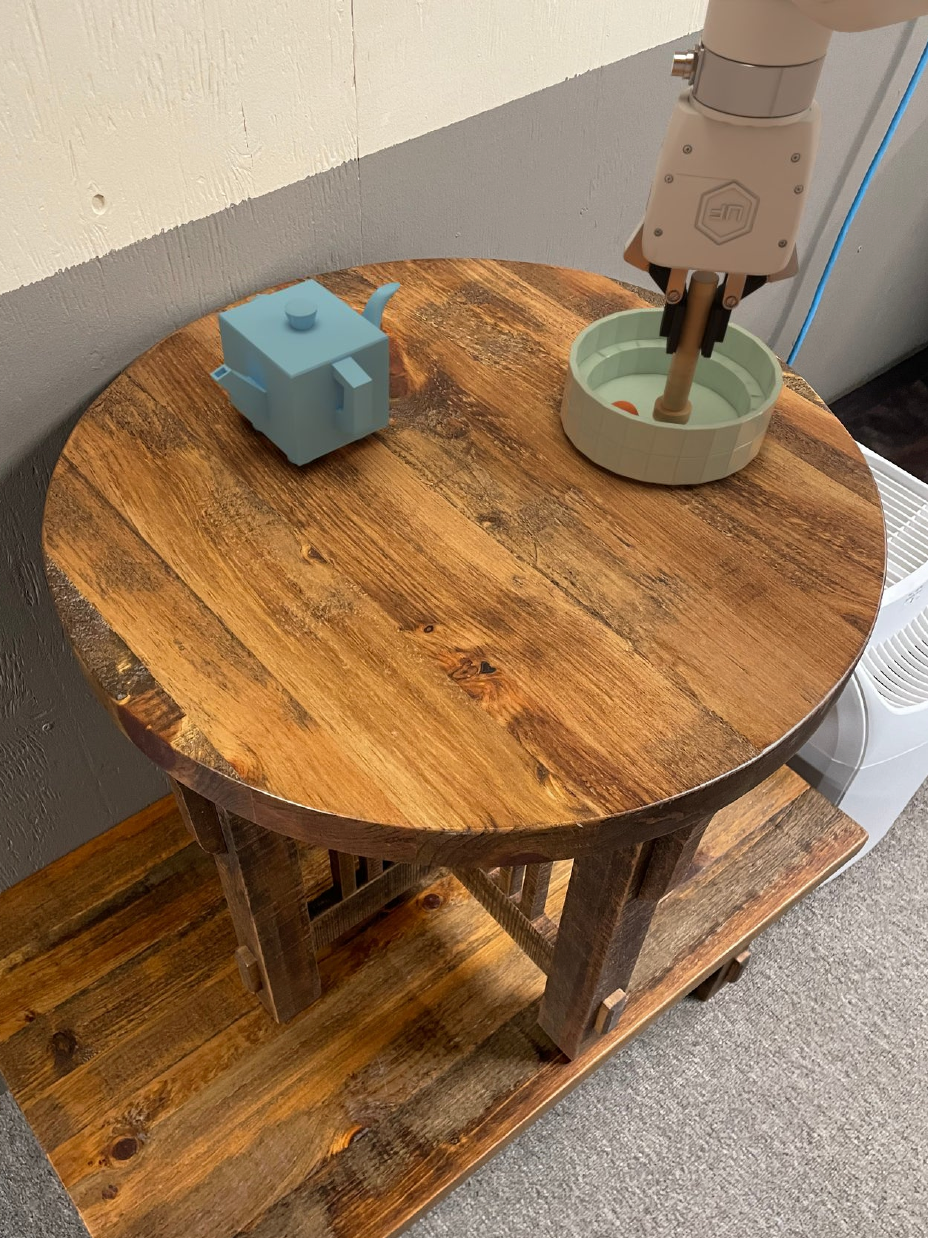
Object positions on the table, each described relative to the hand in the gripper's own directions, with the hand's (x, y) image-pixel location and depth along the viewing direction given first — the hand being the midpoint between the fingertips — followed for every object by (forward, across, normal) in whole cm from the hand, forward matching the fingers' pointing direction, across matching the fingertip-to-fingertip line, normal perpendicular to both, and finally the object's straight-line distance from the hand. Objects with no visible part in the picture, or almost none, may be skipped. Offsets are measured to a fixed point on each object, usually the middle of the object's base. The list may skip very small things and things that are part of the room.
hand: (688, 344), depth 77 cm
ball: (+8, -4, +1) cm, 9 cm away
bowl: (+10, 0, +3) cm, 10 cm away
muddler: (+7, 0, 0) cm, 7 cm away
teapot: (+10, -29, -3) cm, 31 cm away
